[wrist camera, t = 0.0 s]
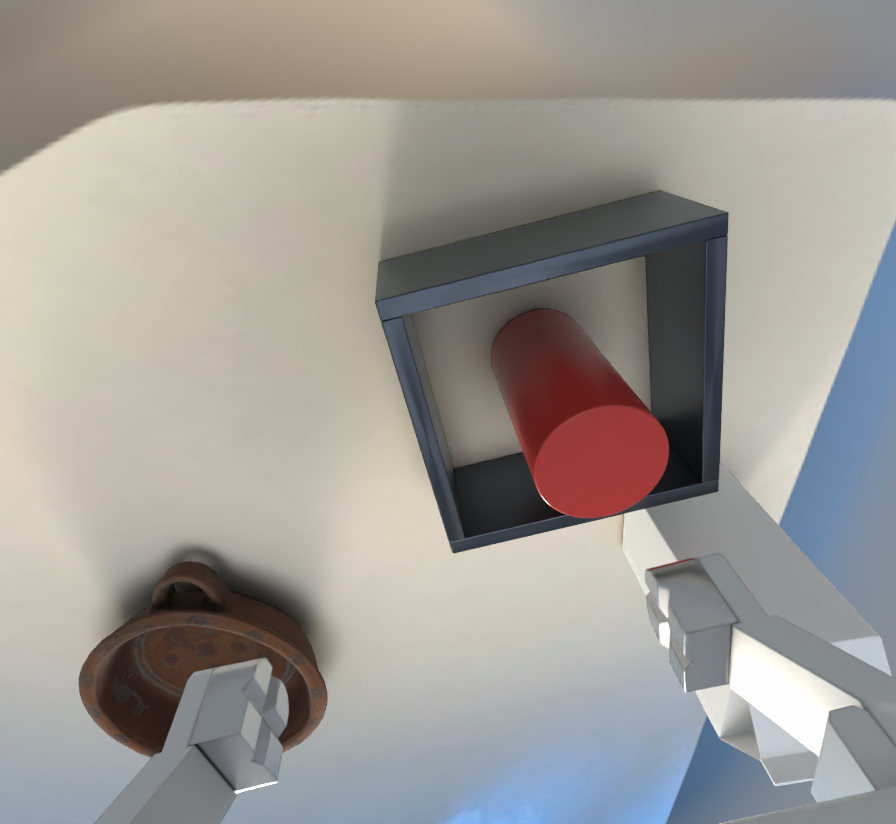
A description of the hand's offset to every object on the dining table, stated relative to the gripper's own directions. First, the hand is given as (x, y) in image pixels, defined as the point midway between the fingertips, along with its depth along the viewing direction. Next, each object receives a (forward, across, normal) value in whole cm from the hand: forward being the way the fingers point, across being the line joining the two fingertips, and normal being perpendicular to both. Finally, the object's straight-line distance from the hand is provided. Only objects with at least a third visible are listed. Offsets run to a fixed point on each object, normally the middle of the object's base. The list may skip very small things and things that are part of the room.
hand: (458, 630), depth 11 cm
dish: (+23, +23, +25) cm, 41 cm away
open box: (+23, -6, +6) cm, 25 cm away
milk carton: (+23, -14, +21) cm, 34 cm away
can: (+23, -6, +6) cm, 25 cm away
